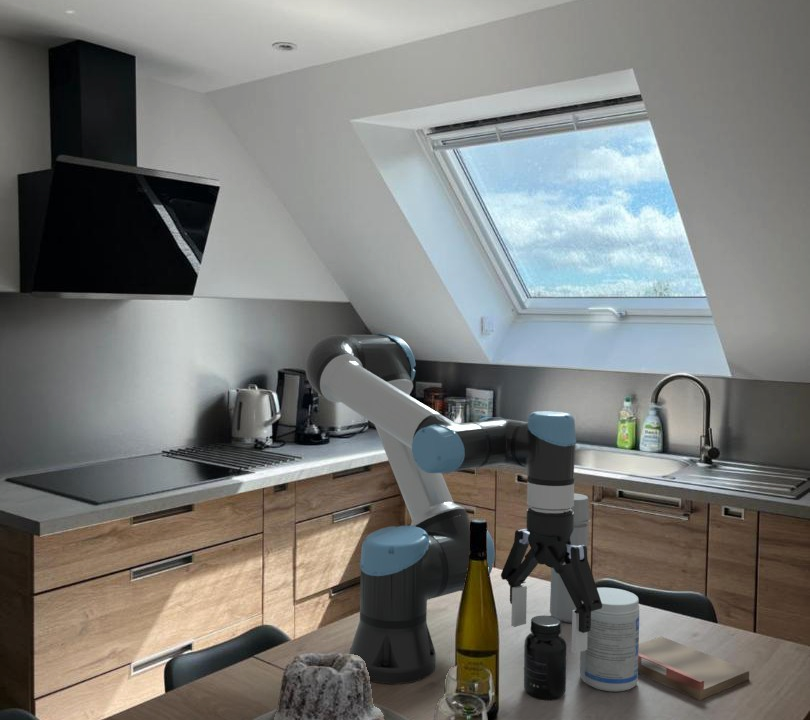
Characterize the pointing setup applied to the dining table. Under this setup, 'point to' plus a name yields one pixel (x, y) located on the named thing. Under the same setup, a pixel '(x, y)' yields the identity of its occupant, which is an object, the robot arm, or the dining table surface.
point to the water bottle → (559, 595)
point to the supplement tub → (612, 642)
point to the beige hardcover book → (687, 668)
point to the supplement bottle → (545, 659)
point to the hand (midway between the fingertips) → (547, 637)
